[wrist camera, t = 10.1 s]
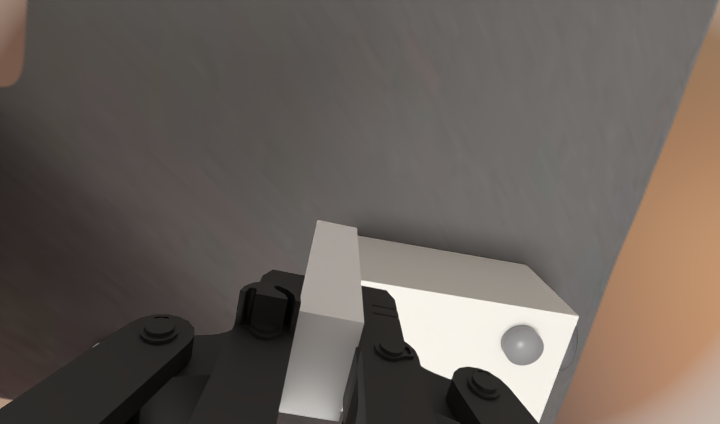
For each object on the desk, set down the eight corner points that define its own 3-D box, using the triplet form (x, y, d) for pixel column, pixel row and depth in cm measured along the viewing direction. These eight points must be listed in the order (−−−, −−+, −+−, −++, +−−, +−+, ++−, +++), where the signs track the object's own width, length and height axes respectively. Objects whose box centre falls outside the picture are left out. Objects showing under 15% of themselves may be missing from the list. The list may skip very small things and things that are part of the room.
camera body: (331, 341, 44) (325, 420, 33) (352, 234, 41) (353, 285, 30) (515, 369, 46) (566, 453, 35) (550, 269, 42) (618, 328, 32)
